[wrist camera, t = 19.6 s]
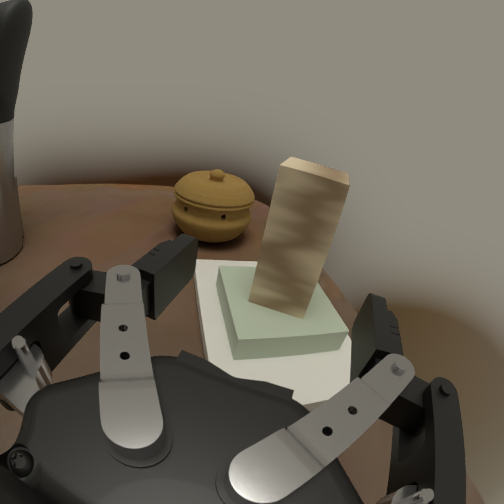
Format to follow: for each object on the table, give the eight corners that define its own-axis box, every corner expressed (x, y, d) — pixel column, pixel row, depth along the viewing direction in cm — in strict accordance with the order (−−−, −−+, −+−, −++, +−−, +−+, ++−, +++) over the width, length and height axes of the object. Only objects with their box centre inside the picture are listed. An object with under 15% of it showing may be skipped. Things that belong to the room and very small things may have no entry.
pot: (185, 212, 49) (191, 156, 44) (251, 227, 49) (263, 169, 44) (157, 241, 39) (162, 171, 34) (239, 261, 39) (254, 189, 34)
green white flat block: (192, 269, 35) (195, 240, 33) (298, 272, 39) (306, 246, 37) (217, 423, 18) (223, 397, 16) (371, 395, 22) (393, 368, 20)
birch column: (248, 301, 25) (280, 164, 19) (262, 273, 29) (291, 156, 24) (302, 319, 24) (349, 185, 19) (309, 288, 29) (347, 173, 23)
